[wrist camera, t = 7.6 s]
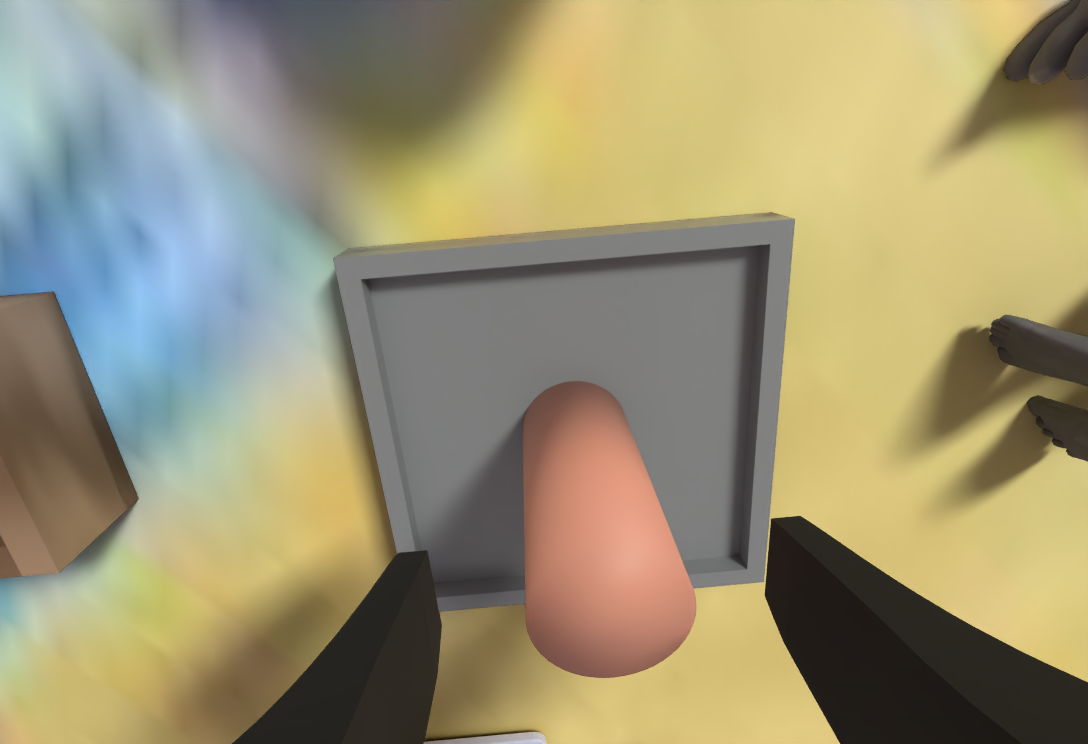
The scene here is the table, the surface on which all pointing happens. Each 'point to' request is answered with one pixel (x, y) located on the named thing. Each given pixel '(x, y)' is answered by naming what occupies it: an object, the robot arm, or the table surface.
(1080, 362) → the yeti figurine
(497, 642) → the table surface
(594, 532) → the pink rounded capsule
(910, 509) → the table surface
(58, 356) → the holder
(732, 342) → the tray
